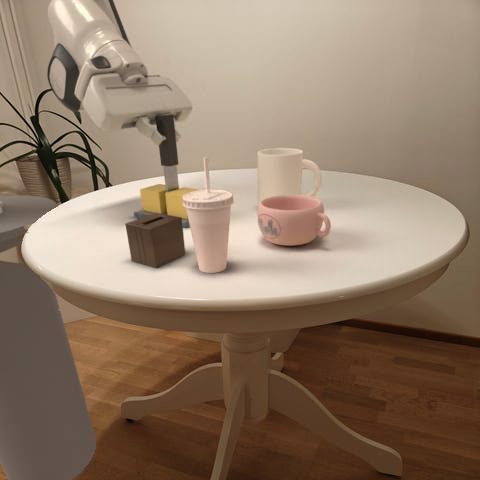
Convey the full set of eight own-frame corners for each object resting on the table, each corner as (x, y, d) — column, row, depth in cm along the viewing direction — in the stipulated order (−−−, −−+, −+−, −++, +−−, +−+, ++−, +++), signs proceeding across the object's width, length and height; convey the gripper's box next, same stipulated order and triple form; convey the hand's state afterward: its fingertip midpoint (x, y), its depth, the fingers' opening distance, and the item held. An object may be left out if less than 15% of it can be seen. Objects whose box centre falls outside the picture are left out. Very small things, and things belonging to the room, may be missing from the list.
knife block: (131, 261, 60) (124, 223, 57) (161, 248, 64) (156, 212, 61) (156, 268, 57) (150, 229, 55) (185, 254, 62) (181, 217, 59)
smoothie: (237, 258, 60) (233, 153, 53) (234, 276, 54) (230, 162, 47) (192, 258, 60) (183, 154, 53) (185, 277, 54) (173, 163, 48)
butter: (142, 210, 79) (139, 189, 77) (161, 204, 83) (159, 183, 81) (187, 219, 74) (185, 196, 72) (205, 212, 77) (204, 190, 75)
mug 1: (322, 204, 83) (326, 148, 78) (317, 216, 76) (320, 155, 71) (263, 201, 86) (263, 147, 81) (253, 212, 79) (252, 154, 74)
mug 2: (244, 242, 65) (243, 204, 62) (283, 226, 72) (283, 191, 69) (309, 260, 58) (311, 218, 55) (345, 241, 64) (349, 202, 62)
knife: (164, 202, 77) (153, 115, 70) (175, 199, 79) (165, 114, 72) (172, 204, 76) (162, 115, 69) (183, 200, 78) (175, 114, 71)
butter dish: (134, 217, 79) (133, 212, 79) (164, 207, 85) (163, 202, 84) (186, 228, 73) (185, 222, 72) (214, 216, 78) (214, 211, 78)
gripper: (156, 89, 82) (199, 145, 81) (65, 95, 67) (117, 163, 67) (170, 61, 77) (216, 121, 77) (76, 60, 63) (131, 134, 63)
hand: (169, 141), depth 72 cm, fingers closed on knife, 2 cm apart
